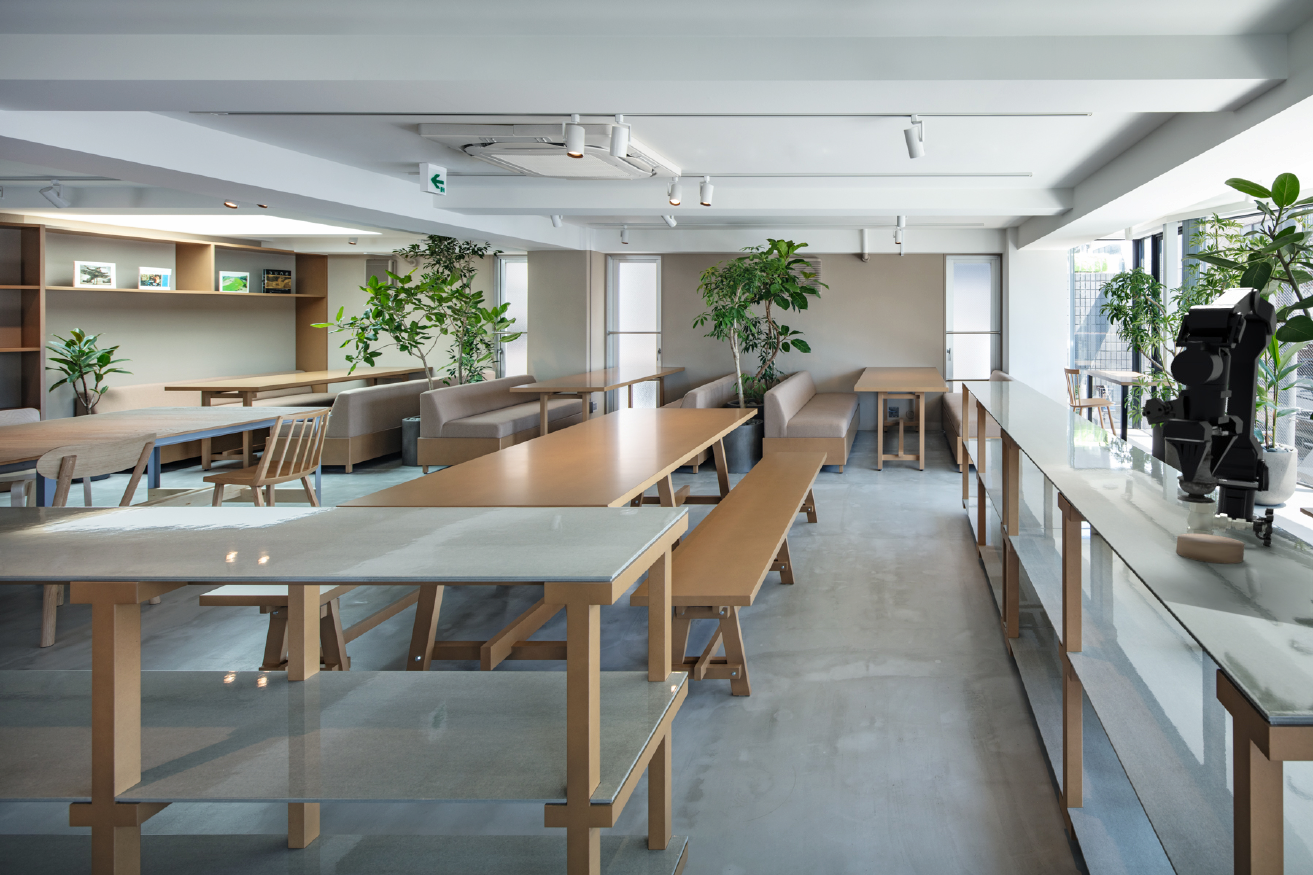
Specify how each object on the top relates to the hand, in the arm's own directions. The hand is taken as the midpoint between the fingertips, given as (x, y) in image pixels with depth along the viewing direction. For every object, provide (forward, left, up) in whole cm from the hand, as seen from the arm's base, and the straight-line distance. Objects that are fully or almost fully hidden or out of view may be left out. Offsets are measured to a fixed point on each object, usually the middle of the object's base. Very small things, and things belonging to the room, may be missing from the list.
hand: (1197, 478), depth 137 cm
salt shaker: (0, 0, -4) cm, 4 cm away
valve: (-10, +4, -12) cm, 16 cm away
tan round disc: (+3, +3, -12) cm, 13 cm away
